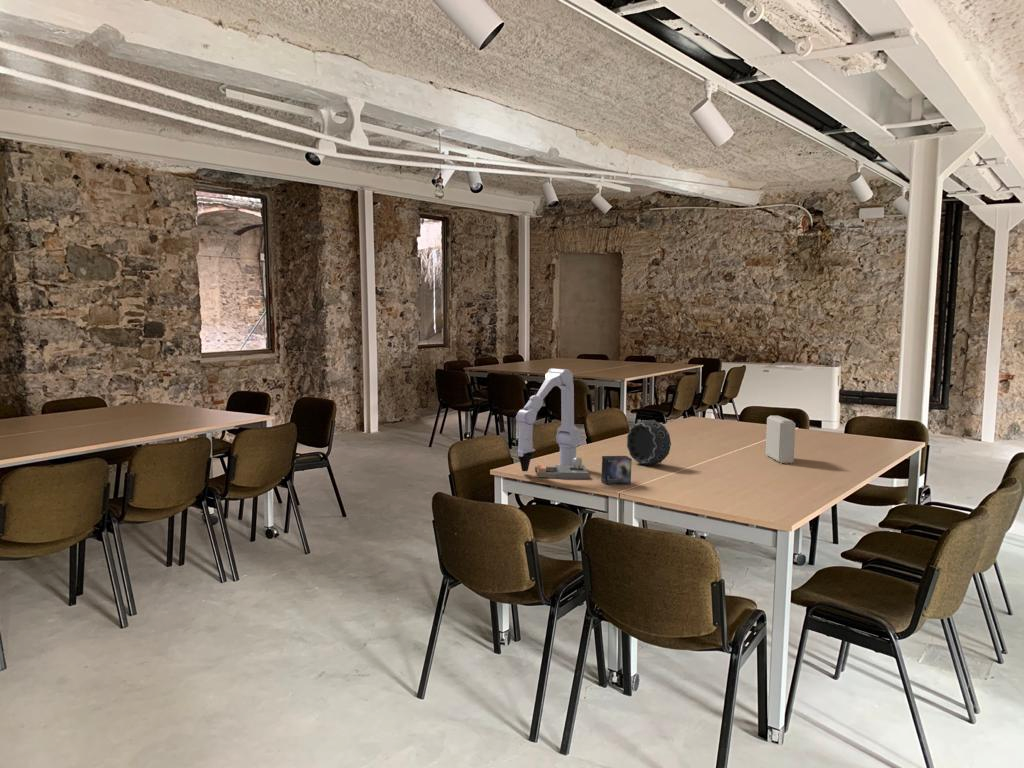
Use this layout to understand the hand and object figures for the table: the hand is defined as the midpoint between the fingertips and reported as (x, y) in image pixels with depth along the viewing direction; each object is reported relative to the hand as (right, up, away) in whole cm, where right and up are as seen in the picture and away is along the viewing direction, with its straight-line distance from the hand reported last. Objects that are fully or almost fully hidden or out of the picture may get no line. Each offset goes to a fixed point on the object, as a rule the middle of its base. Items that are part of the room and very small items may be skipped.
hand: (524, 470), depth 311 cm
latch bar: (+7, -2, 0) cm, 7 cm away
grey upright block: (+121, 0, +43) cm, 129 cm away
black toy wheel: (+56, 0, +27) cm, 62 cm away
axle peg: (+22, -2, +1) cm, 22 cm away
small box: (+36, -3, -14) cm, 39 cm away
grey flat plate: (+15, -2, +1) cm, 15 cm away
